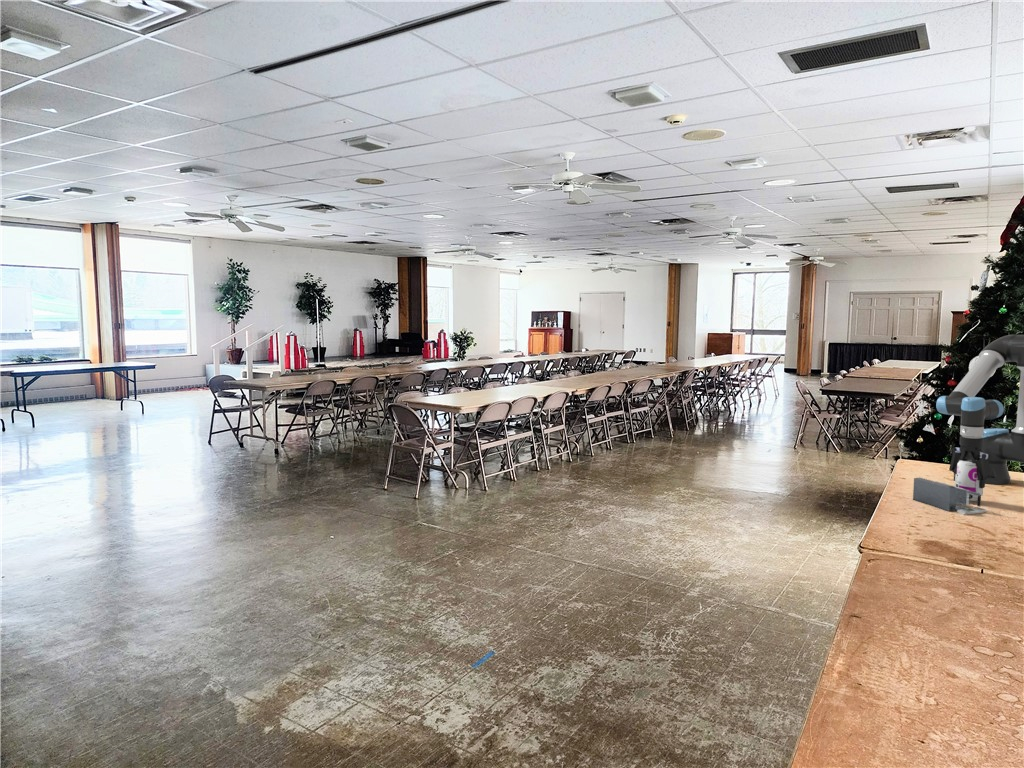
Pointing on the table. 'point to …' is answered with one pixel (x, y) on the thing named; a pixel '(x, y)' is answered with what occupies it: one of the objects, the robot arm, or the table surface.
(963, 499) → the gauge plunger
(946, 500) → the gauge housing
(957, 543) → the table surface
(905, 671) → the table surface
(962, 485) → the supplement can
